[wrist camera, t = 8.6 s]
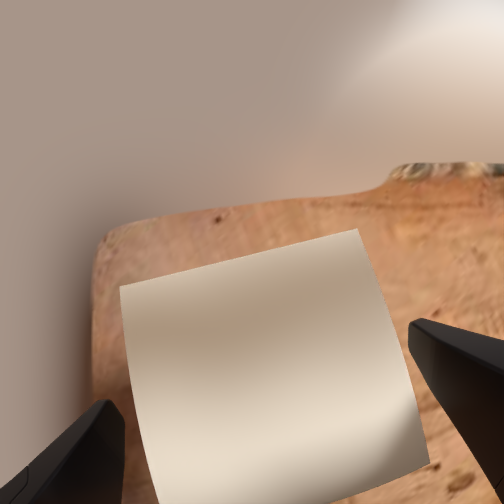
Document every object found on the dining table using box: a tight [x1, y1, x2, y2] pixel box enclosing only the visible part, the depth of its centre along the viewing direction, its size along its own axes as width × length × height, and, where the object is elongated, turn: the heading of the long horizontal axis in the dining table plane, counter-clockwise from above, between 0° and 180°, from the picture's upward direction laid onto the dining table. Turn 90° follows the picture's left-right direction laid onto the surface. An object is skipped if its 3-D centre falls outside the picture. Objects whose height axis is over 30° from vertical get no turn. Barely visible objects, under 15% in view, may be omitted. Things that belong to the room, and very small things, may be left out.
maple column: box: [120, 229, 430, 504], centre depth 11 cm, size 6×6×10 cm
